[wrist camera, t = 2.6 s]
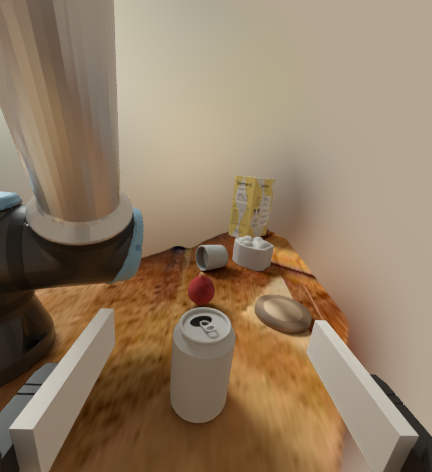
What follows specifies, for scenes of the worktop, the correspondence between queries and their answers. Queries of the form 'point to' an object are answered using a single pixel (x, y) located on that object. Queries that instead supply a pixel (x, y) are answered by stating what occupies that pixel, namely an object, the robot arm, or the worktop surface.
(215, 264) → the ceramic mug
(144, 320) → the worktop surface
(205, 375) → the can
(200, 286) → the onion
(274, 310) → the disc
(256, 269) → the lumpy-topped squat cylinder
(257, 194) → the pasta box
